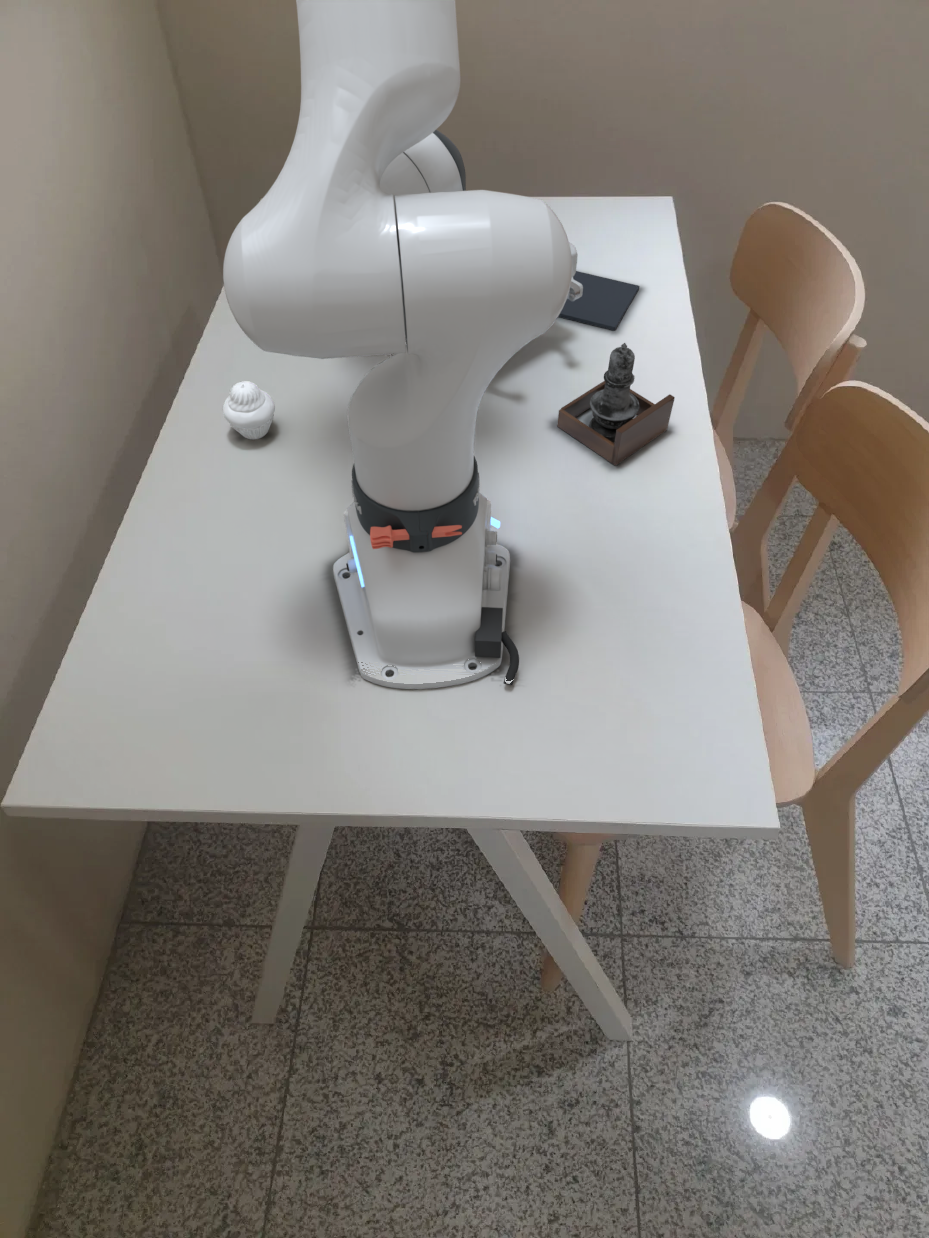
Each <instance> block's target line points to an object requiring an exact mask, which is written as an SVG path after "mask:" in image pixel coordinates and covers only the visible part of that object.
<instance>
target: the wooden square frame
mask: <svg viewBox="0 0 929 1238" xmlns="http://www.w3.org/2000/svg"><path fill="white" fill-rule="evenodd" d="M604 388H605V381H604V380H603V381H602V382H600V383H599V384H597V385H595V386H594V387H592V388H591V389H589V390H587V391H586V392H584V393H583V394H580V395H579V396H577V397H576V398H574V399H573V400H572V401H570V402H568V403H567V404H565V405H563V406H562V407H560V408H559V409H558V415H557V424H556V426H557V427H558V428H559V429H560V430H561V431H563V432H565V433H567V434H568V435H569V436H571V437H572V438H573V439H575V440H576V441H578V442H579V443H581V444H583V445H584V446H586V448H588V449H590V450H591V451H593V452H594V453H596V454H597V455H599V456H600V457H602V458H603V459H605V460H606V461H608V462H609V463H611V464H612V465H613V466H616V467H617V466H618V465H619V464H620V463H622V462H624V461H625V460H627V459H628V458H629V457H631V456H632V455H633V454H635V453H637V452H638V451H639V450H640V449H642V448H644V447H645V446H646V445H648V444H649V443H651V442H652V441H653V440H655V439H656V438H658V437H659V436H661V435H662V434H663V433H665V432H667V431H668V428H669V423H670V420H671V415H672V411H673V406H674V402H675V398H676V397H675V396H674V395H672V394H670V393H669V394H667V395H666V396H664V397H663V398H662V399H660V400H658V401H657V402H655V403H653V402H652V401H650V400H649V399H648V398H646V397H644V396H642V395H641V394H639V393H638V392H636V391H634V390H633V389H631V388H630V391H629V393H631V394H632V395H634V396H635V397H636V398H637V400H638V401H639V411H638V412H637V414H636V415H637V416H634V418H633V419H632V420H631V421H629V422H628V423H626V424H625V425H623V426H622V427H620V428H619V429H617V430H616V436H615V442H611V441H610V440H608V439H607V438H605V437H604V436H602V435H601V434H599V433H598V432H596V431H595V430H593V429H592V428H590V427H589V425H587V424H585V423H584V422H582V421H581V420H579V419H578V418H577V417H579V416H580V415H581V414H583V413H584V412H585V413H586V411H588V410H589V409H591V407H590V400H591V398H592V396H593V395H594V394H595V393H597V392H598V391H601V390H604Z"/></svg>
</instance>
